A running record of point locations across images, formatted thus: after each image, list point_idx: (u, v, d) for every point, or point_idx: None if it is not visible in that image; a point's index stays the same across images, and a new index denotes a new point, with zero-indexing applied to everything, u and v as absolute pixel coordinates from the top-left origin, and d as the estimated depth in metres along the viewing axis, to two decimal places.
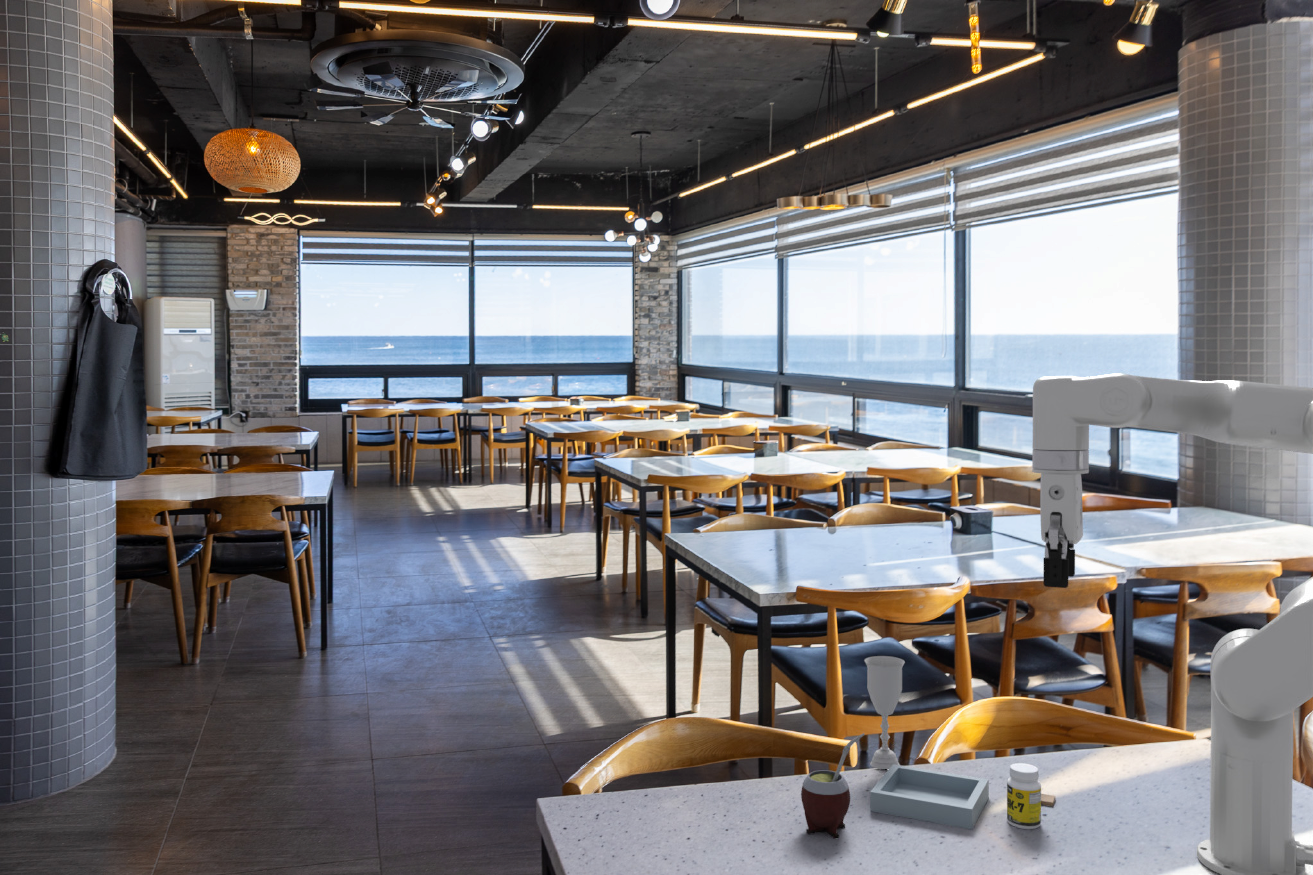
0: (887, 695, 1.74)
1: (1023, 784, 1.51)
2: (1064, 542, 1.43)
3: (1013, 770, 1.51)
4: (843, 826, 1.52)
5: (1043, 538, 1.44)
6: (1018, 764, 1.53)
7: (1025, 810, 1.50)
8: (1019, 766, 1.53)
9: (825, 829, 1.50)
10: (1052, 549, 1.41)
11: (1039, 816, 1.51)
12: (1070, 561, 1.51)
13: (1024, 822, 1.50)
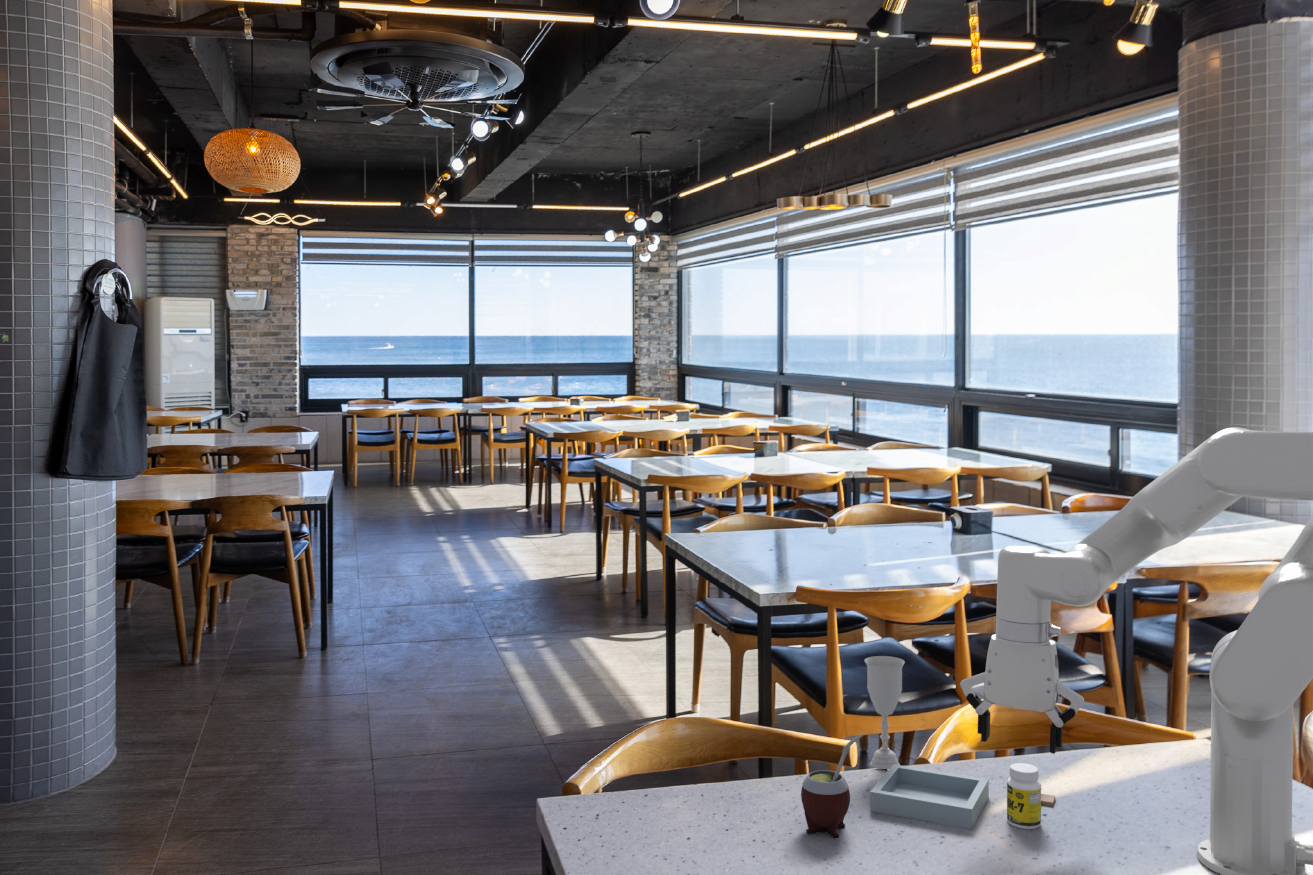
0: (887, 695, 1.74)
1: (1023, 784, 1.51)
2: (1056, 706, 1.51)
3: (1013, 770, 1.51)
4: (843, 826, 1.52)
5: (1052, 708, 1.48)
6: (1018, 764, 1.53)
7: (1025, 810, 1.50)
8: (1019, 766, 1.53)
9: (825, 829, 1.50)
10: None
11: (1039, 816, 1.51)
12: (989, 722, 1.55)
13: (1024, 822, 1.50)
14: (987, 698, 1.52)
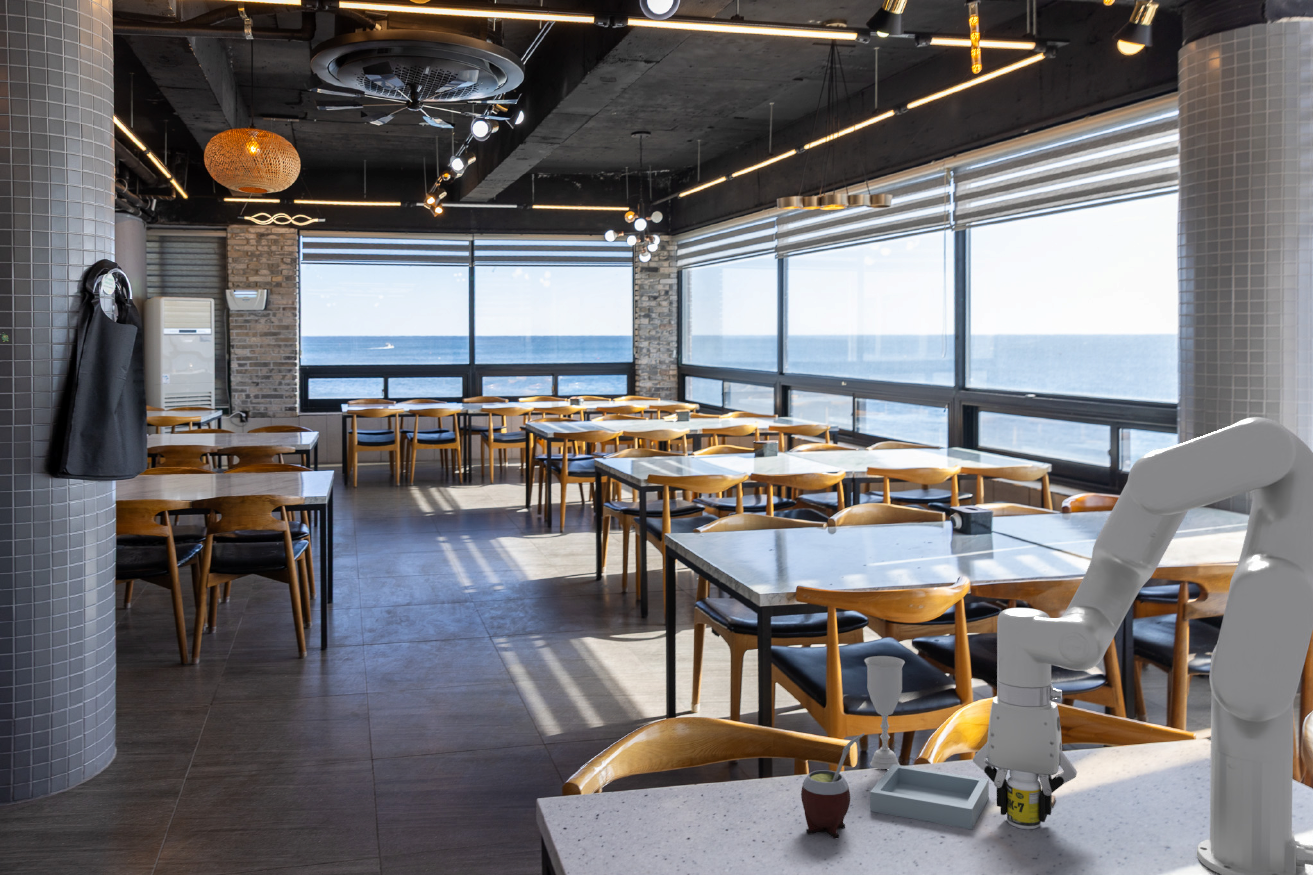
0: (887, 695, 1.74)
1: (1023, 784, 1.51)
2: None
3: (1013, 770, 1.51)
4: (843, 826, 1.52)
5: (1055, 772, 1.49)
6: None
7: (1025, 810, 1.50)
8: None
9: (825, 829, 1.50)
10: None
11: None
12: None
13: (1024, 822, 1.50)
14: (990, 762, 1.53)
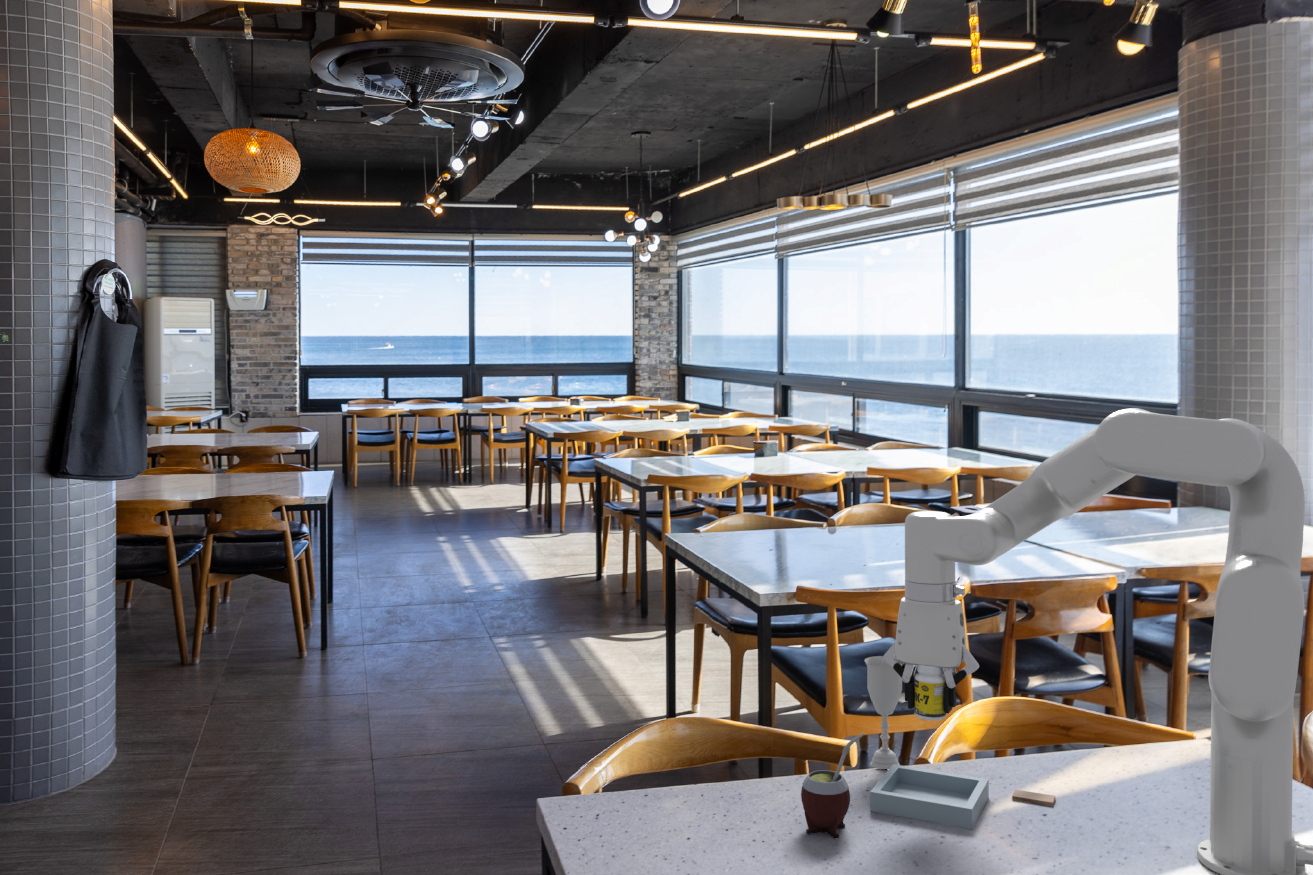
0: (887, 695, 1.74)
1: (928, 677, 1.57)
2: (955, 668, 1.58)
3: (919, 665, 1.58)
4: (843, 826, 1.52)
5: (958, 664, 1.55)
6: None
7: (929, 702, 1.57)
8: None
9: (825, 829, 1.50)
10: None
11: None
12: None
13: (929, 713, 1.57)
14: (898, 657, 1.59)
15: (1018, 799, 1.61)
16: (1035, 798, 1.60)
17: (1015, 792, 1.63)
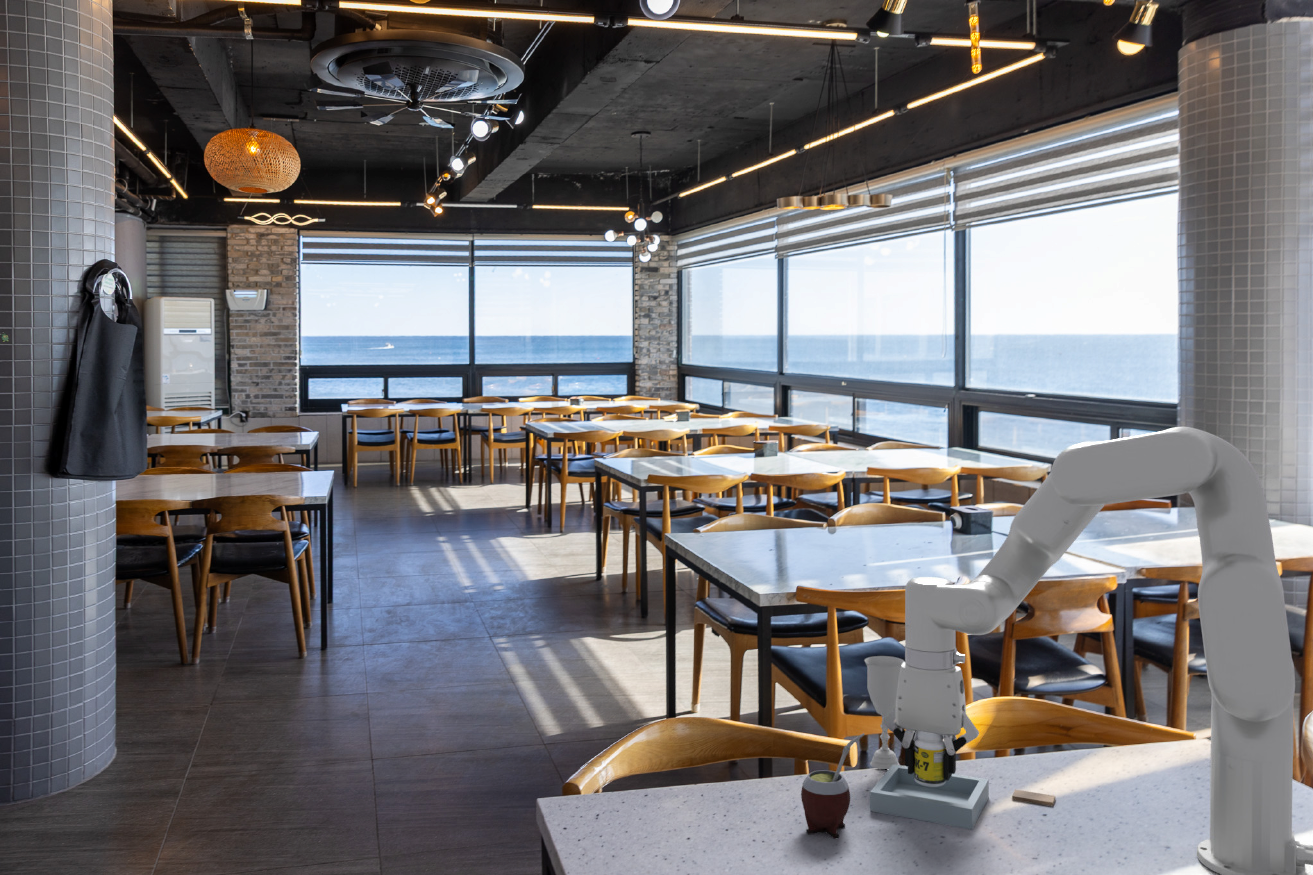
0: (887, 695, 1.74)
1: (928, 743, 1.58)
2: (955, 734, 1.59)
3: None
4: (843, 826, 1.52)
5: (958, 732, 1.56)
6: None
7: (929, 769, 1.57)
8: None
9: (825, 829, 1.50)
10: None
11: None
12: None
13: (929, 780, 1.58)
14: (898, 723, 1.60)
15: (1018, 799, 1.61)
16: (1035, 798, 1.60)
17: (1015, 792, 1.63)
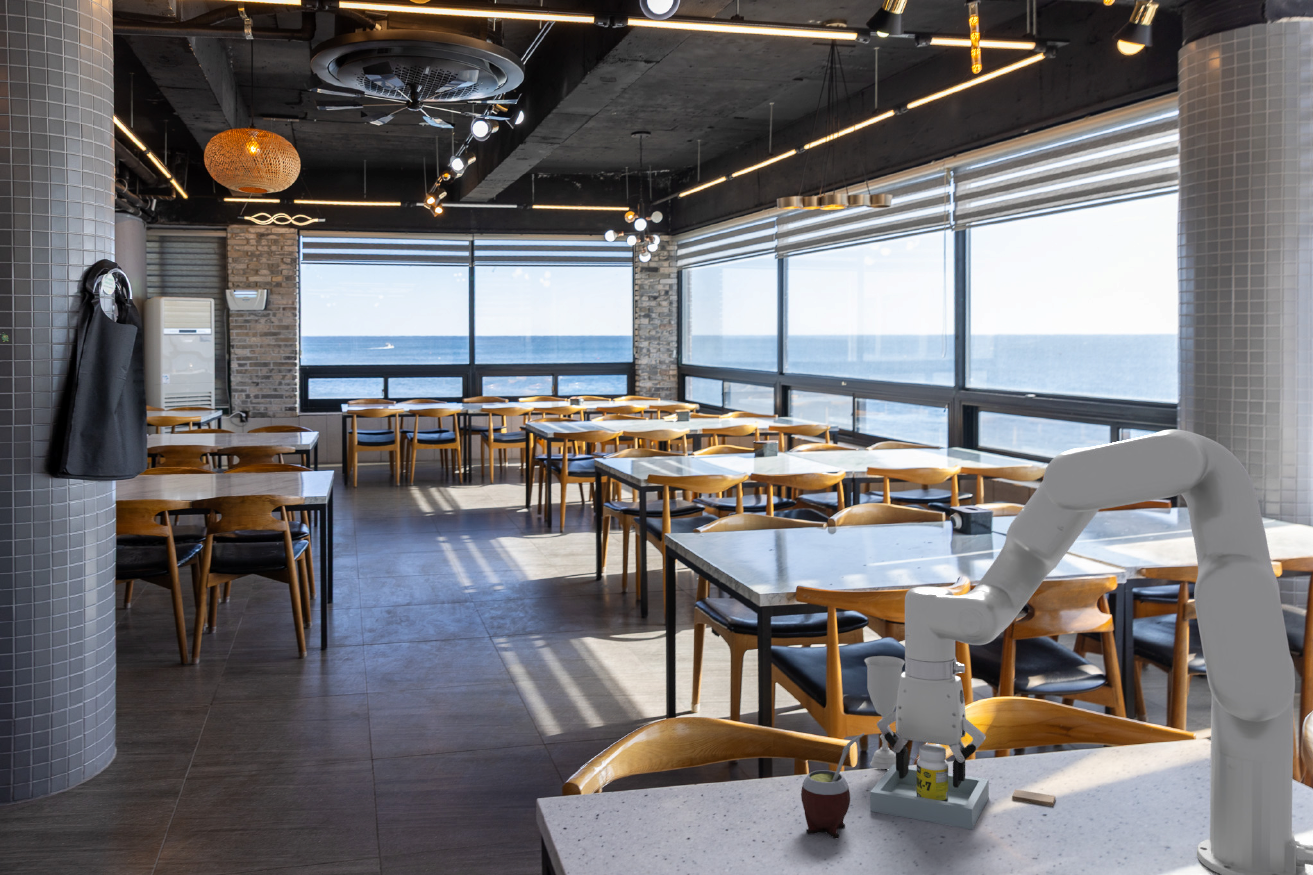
0: (887, 695, 1.74)
1: (930, 763, 1.58)
2: (961, 741, 1.58)
3: (921, 750, 1.59)
4: (843, 826, 1.52)
5: (958, 742, 1.56)
6: (927, 745, 1.61)
7: (932, 789, 1.57)
8: (928, 747, 1.60)
9: (825, 829, 1.50)
10: None
11: (946, 794, 1.58)
12: (907, 759, 1.62)
13: None
14: (898, 733, 1.60)
15: (1018, 799, 1.61)
16: (1035, 798, 1.60)
17: (1015, 792, 1.63)
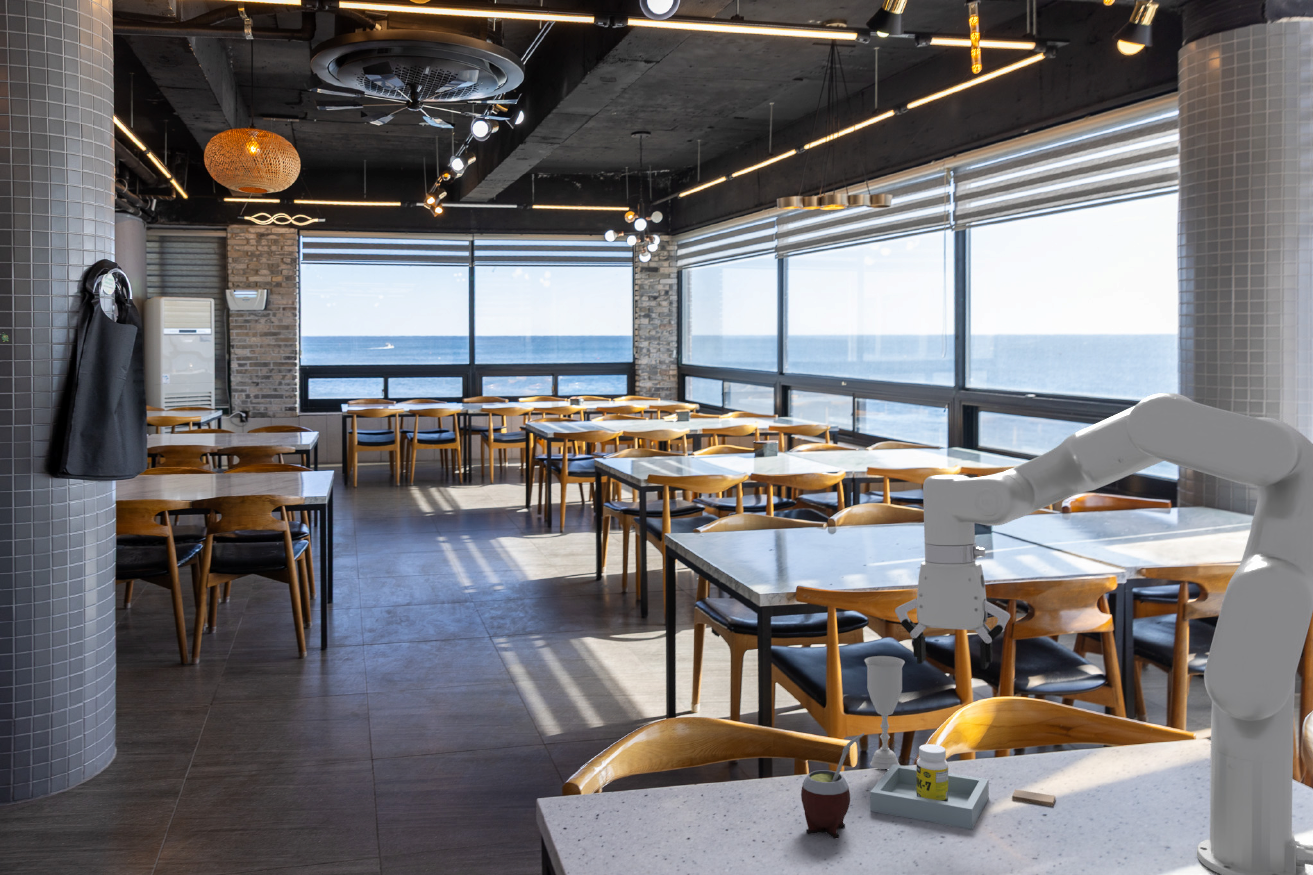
0: (887, 695, 1.74)
1: (930, 763, 1.58)
2: (985, 624, 1.58)
3: (921, 750, 1.59)
4: (843, 826, 1.52)
5: (980, 625, 1.56)
6: (927, 745, 1.61)
7: (932, 789, 1.57)
8: (927, 747, 1.60)
9: (825, 829, 1.50)
10: (1000, 632, 1.56)
11: (946, 794, 1.58)
12: (924, 646, 1.63)
13: None
14: (920, 621, 1.60)
15: (1018, 799, 1.61)
16: (1035, 798, 1.60)
17: (1015, 792, 1.63)
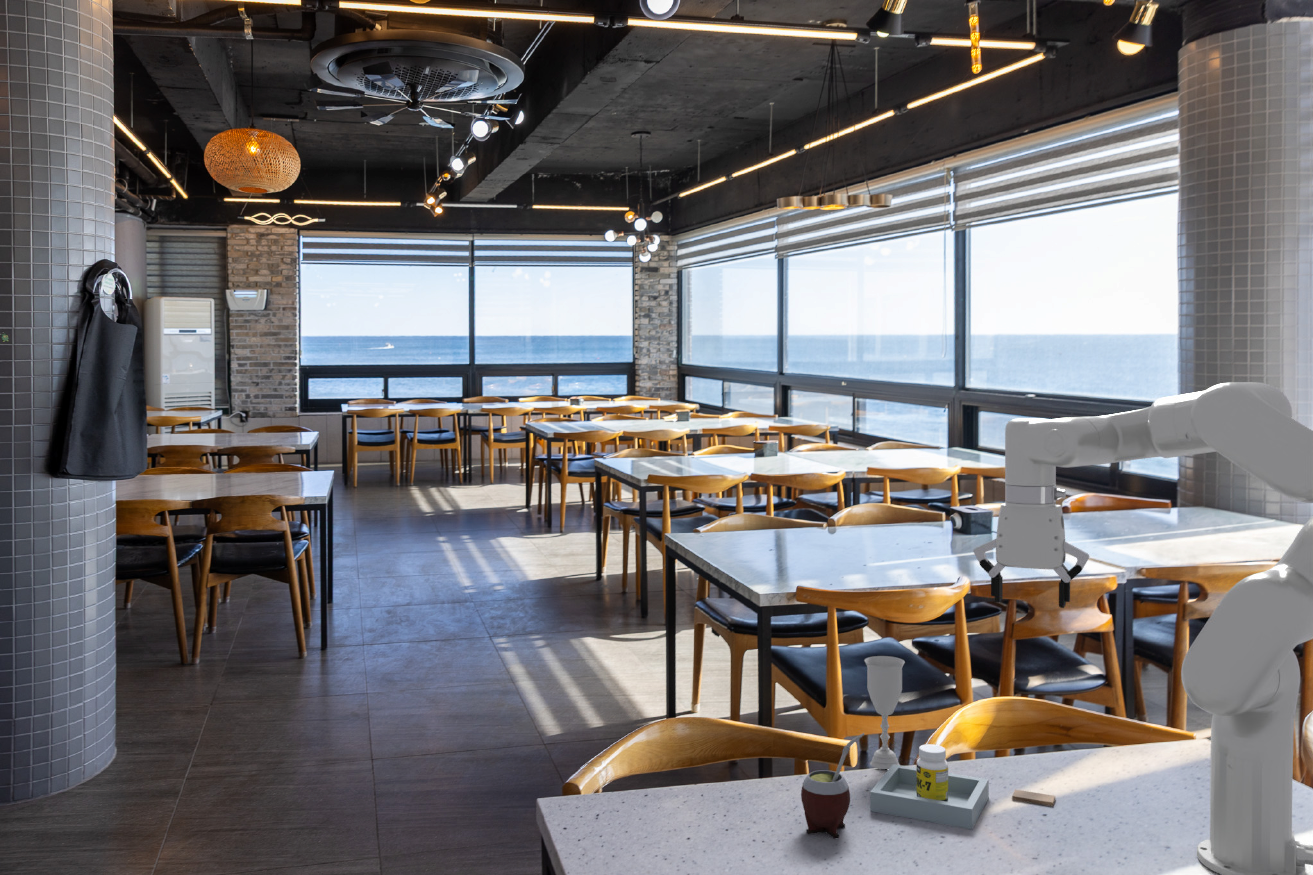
0: (887, 695, 1.74)
1: (930, 763, 1.58)
2: (1064, 565, 1.62)
3: (921, 750, 1.59)
4: (843, 826, 1.52)
5: (1060, 565, 1.59)
6: (927, 745, 1.61)
7: (931, 789, 1.57)
8: (927, 747, 1.60)
9: (825, 829, 1.50)
10: None
11: (946, 794, 1.58)
12: (1002, 586, 1.66)
13: None
14: (999, 561, 1.63)
15: (1018, 799, 1.61)
16: (1035, 798, 1.60)
17: (1015, 792, 1.63)
